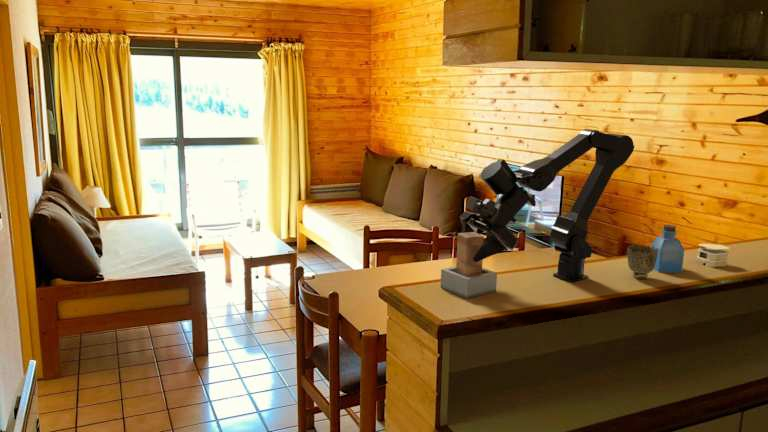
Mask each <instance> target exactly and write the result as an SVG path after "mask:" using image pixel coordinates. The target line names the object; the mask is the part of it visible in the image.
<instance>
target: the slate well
mask: <svg viewBox="0 0 768 432" xmlns="http://www.w3.org/2000/svg"><path fill="white" fill-rule="evenodd" d="M497 281H498V273H497V272H496V271H492V270H491V269H490V270H489V269H487V268H484V267H482V274H481V275H476V276H472V277H466V276H463V275H460V274H458V273H456V266H451V267H446V268H441V269H440V288H441V289H443V290H445V291H447V292H451V293H452V294H455V295H457V296H459V297H462V298H464V299H467V300H468V299H470V298H474V297H475V298H476V297H478V296H483V295H488V294H492V293H495V292H497V284H498V283H497Z"/></svg>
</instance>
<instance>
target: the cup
mask: <svg viewBox="0 0 768 432" xmlns="http://www.w3.org/2000/svg"><path fill="white" fill-rule="evenodd" d="M658 252H659V250H658V248H656V249H654V247H652V248H651V246H650V245H647V246H646V245H643V246H641V244H638V245H635V244H632V245H628V247H627V265H628V267H629V269H630V270H631V272H632V276H633V278H635V279H637V280H638V279H639V280H646V279H648V276H649V274H650V273H651V272H652V271H654V270H655V269H654V267H655V264H656V260H657V256H658Z"/></svg>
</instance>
